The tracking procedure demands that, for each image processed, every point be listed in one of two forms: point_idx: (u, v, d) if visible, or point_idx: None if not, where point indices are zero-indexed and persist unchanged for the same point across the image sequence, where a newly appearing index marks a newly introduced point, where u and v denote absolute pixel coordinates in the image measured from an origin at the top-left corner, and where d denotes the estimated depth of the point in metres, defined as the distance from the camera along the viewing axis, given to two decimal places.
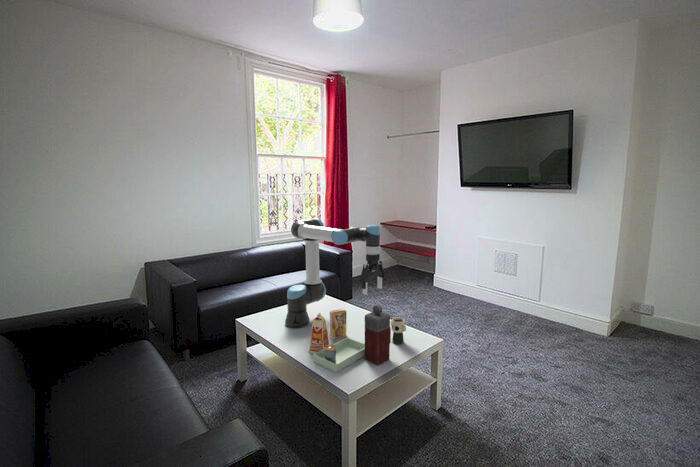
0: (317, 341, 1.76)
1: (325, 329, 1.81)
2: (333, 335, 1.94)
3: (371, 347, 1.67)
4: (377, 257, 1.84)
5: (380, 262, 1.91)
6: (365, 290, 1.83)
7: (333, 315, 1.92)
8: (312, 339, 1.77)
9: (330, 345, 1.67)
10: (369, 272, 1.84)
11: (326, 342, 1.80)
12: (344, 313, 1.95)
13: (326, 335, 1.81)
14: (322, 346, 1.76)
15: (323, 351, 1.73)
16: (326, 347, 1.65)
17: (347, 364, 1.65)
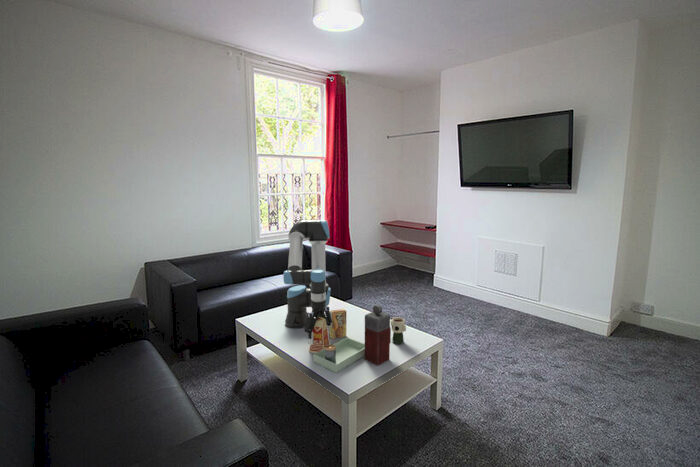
0: (318, 341, 1.77)
1: (325, 329, 1.81)
2: (333, 335, 1.94)
3: (371, 347, 1.67)
4: (322, 304, 1.75)
5: (327, 309, 1.82)
6: (311, 340, 1.75)
7: (333, 315, 1.92)
8: None
9: (330, 345, 1.67)
10: (314, 321, 1.75)
11: (326, 342, 1.80)
12: (344, 313, 1.95)
13: (326, 335, 1.81)
14: (322, 346, 1.76)
15: (323, 351, 1.73)
16: (326, 347, 1.65)
17: (347, 364, 1.65)
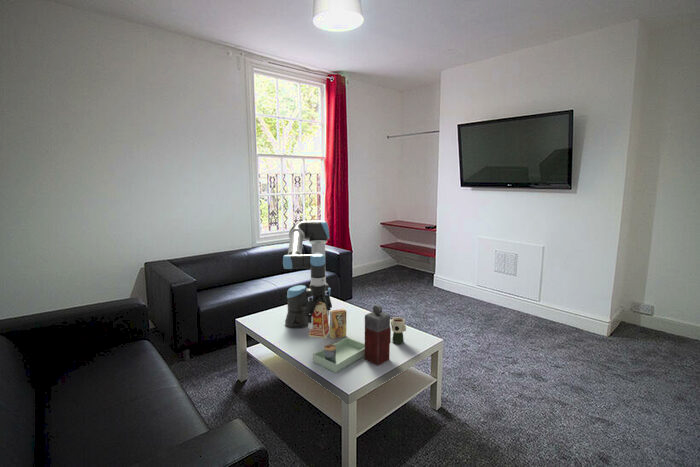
0: (318, 325, 1.76)
1: (325, 313, 1.80)
2: (333, 335, 1.94)
3: (371, 347, 1.67)
4: (322, 289, 1.74)
5: (327, 293, 1.81)
6: (311, 324, 1.75)
7: (333, 315, 1.92)
8: None
9: (330, 345, 1.67)
10: (314, 305, 1.75)
11: (326, 326, 1.80)
12: (344, 313, 1.95)
13: (326, 319, 1.81)
14: (322, 330, 1.76)
15: (323, 351, 1.73)
16: (326, 347, 1.65)
17: (347, 364, 1.65)
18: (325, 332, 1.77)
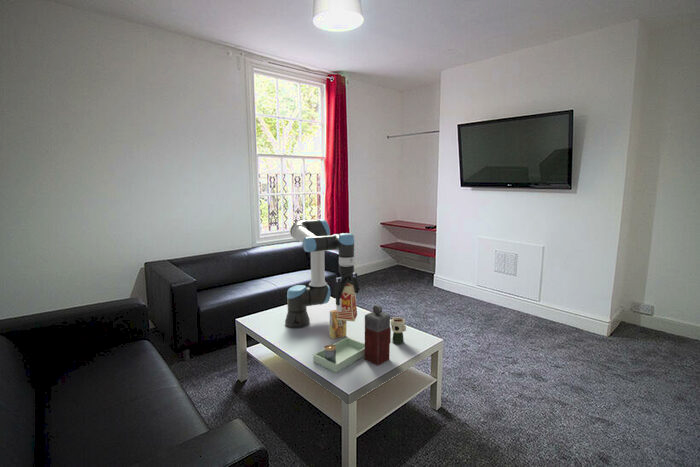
0: (346, 308, 1.68)
1: (353, 296, 1.72)
2: (333, 335, 1.94)
3: (371, 347, 1.67)
4: (351, 269, 1.66)
5: (355, 275, 1.73)
6: (339, 307, 1.67)
7: (333, 315, 1.92)
8: None
9: (330, 345, 1.67)
10: (343, 286, 1.67)
11: (354, 309, 1.72)
12: None
13: (354, 302, 1.73)
14: (351, 313, 1.68)
15: (323, 351, 1.73)
16: (326, 347, 1.65)
17: (347, 364, 1.65)
18: (354, 315, 1.69)
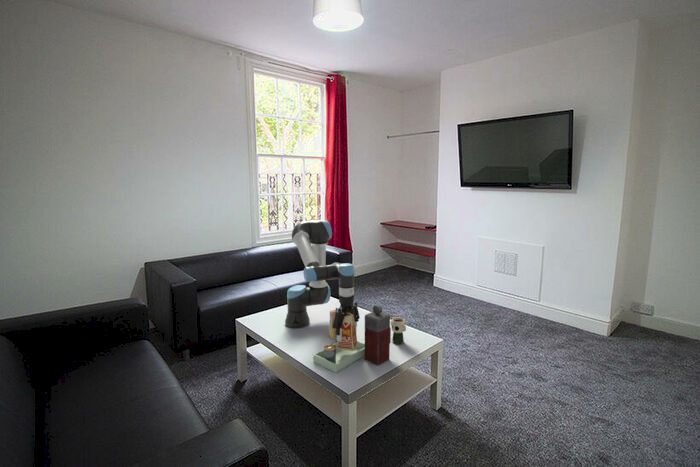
0: (346, 337, 1.70)
1: (353, 325, 1.74)
2: (333, 335, 1.94)
3: (371, 347, 1.67)
4: (351, 299, 1.69)
5: (355, 304, 1.76)
6: (340, 336, 1.69)
7: (333, 315, 1.92)
8: None
9: (330, 345, 1.67)
10: (343, 316, 1.69)
11: (354, 338, 1.74)
12: None
13: (354, 331, 1.75)
14: (351, 342, 1.70)
15: (323, 351, 1.73)
16: (326, 347, 1.65)
17: (347, 364, 1.65)
18: (354, 344, 1.71)
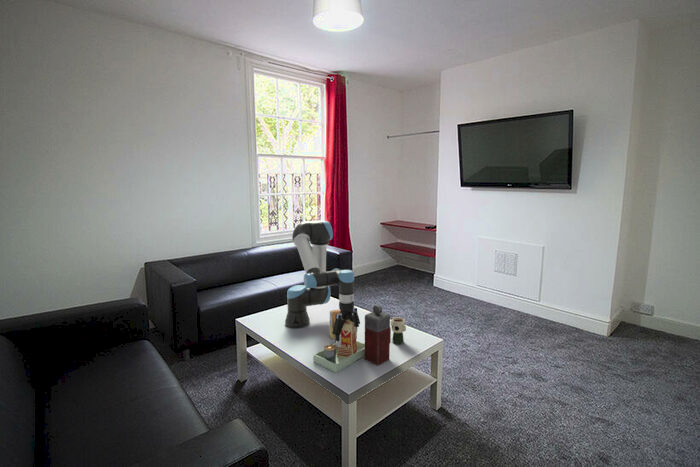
0: (346, 345, 1.71)
1: (353, 333, 1.75)
2: (333, 335, 1.94)
3: (371, 347, 1.67)
4: (351, 306, 1.69)
5: (355, 310, 1.76)
6: (339, 342, 1.69)
7: (333, 315, 1.92)
8: None
9: (330, 345, 1.67)
10: (343, 322, 1.69)
11: (354, 346, 1.74)
12: None
13: (354, 339, 1.75)
14: (351, 350, 1.70)
15: (323, 351, 1.73)
16: (326, 347, 1.65)
17: (347, 364, 1.65)
18: (354, 352, 1.72)
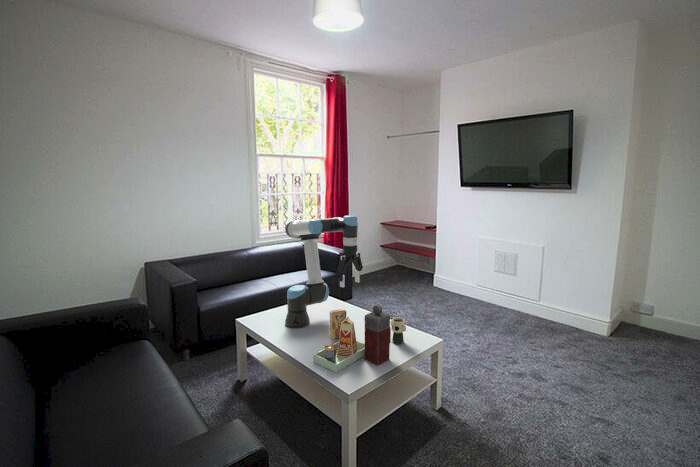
0: (346, 345, 1.71)
1: (353, 333, 1.75)
2: (333, 335, 1.94)
3: (371, 347, 1.67)
4: (354, 248, 1.80)
5: (358, 254, 1.87)
6: (342, 283, 1.81)
7: (333, 315, 1.92)
8: (340, 343, 1.71)
9: (330, 345, 1.67)
10: (346, 264, 1.81)
11: (354, 346, 1.74)
12: (344, 313, 1.95)
13: (354, 339, 1.75)
14: (351, 350, 1.70)
15: (323, 351, 1.73)
16: (326, 347, 1.65)
17: (347, 364, 1.65)
18: (354, 352, 1.72)
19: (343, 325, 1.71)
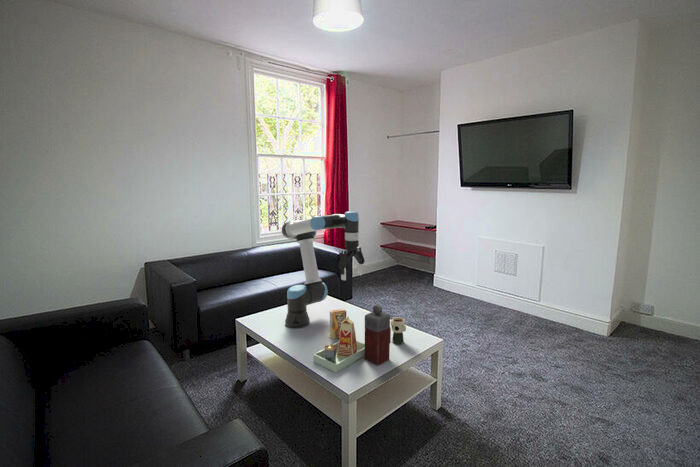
0: (346, 345, 1.71)
1: (353, 333, 1.75)
2: (333, 335, 1.94)
3: (371, 347, 1.67)
4: (356, 243, 1.86)
5: (359, 249, 1.93)
6: (344, 276, 1.86)
7: (333, 315, 1.92)
8: (340, 343, 1.71)
9: (330, 345, 1.67)
10: (348, 258, 1.86)
11: (354, 346, 1.74)
12: (344, 313, 1.95)
13: (354, 339, 1.75)
14: (351, 350, 1.70)
15: (323, 351, 1.73)
16: (326, 347, 1.65)
17: (347, 364, 1.65)
18: (354, 352, 1.72)
19: (343, 325, 1.71)
